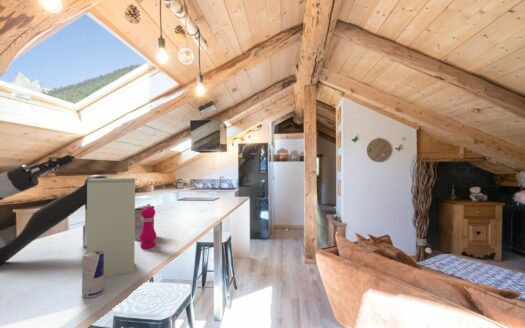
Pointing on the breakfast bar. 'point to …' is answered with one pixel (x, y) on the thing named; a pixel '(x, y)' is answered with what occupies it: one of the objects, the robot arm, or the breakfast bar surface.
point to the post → (112, 222)
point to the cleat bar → (94, 164)
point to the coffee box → (139, 222)
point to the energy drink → (92, 274)
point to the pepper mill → (148, 228)
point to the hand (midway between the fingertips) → (72, 157)
